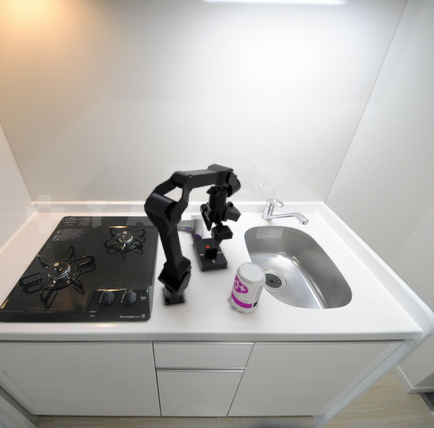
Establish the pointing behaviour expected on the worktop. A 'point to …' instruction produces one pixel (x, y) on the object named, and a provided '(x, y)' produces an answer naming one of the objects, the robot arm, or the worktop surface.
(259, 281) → the supplement can
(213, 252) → the stove knob
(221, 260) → the stove panel
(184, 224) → the infrared thermometer
